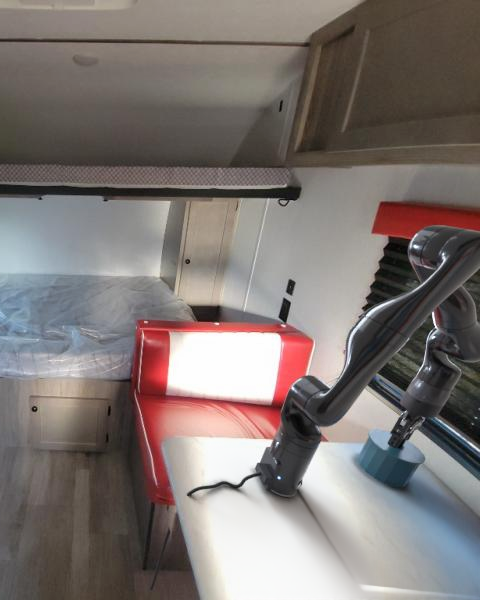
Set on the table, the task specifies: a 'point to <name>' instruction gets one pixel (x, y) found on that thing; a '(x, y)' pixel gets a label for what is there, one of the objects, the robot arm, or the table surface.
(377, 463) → the pot
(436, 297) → the robot arm
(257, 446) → the table surface
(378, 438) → the lid
